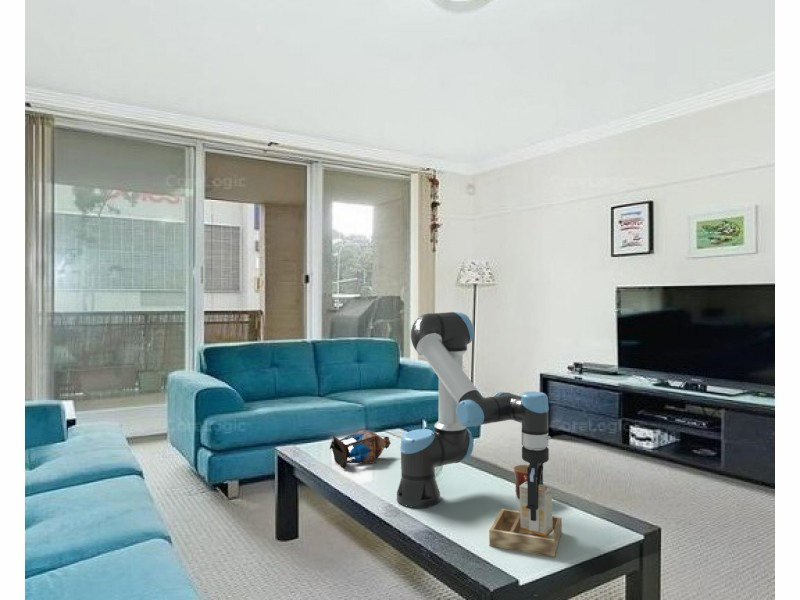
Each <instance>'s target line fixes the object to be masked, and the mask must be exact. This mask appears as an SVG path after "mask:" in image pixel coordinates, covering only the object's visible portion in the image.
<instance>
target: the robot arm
mask: <svg viewBox="0 0 800 600" xmlns="http://www.w3.org/2000/svg"><path fill="white" fill-rule="evenodd" d="M474 335H475V330H474V325H473V322H472V320H471V319H470V317H469V316H468V315H467V314H465V313H463V312H458V311H457V312H456V311H449V312H436V313H435V312H434V313H432V312H431V313H425V314H422V315H420V316H419V317H418V318H417V319H416V320H414V322H413V324H412V326H411V329H410V340H411V344H412V347H413V348H414V349H415V350H414V351H416V352H417V354H418V355H419V356H421V357H423V358H424V359H425V361H426V362H427V363H428V364H429V366H430V367H431V369H432V370H433V372H434V373H435V375H436V376H437V378H438V421H436V422H435V423H434V429H433V430H431V429H428V428H421V429H419V428H417V429H412V430H410V431H408V432H405V433H404V434H403V435H402V437H401V439H400V447H399V449H400V467H401V468H400V469H401V470H400V471H401V473H400V474H401V478H400V482H399V484H398V488H397V491H396V501H397V503H398V502H399V503H398V504H400V503H401V504H403V505H402V506H404V505H407V506H412V507H411V508H413V507H424V508H429V506H430V507H432V506H435V505H438V503H440V502H441V492H440V488H439V485H438V483H437V480H436V477H435V475H436V474H435V471H436V467H437V468H438V467H441V466H446V465H450V464H451V465H452V464H458V463H460V462H463V461H467V460H468V458H470V457H471V455H472V454H473V450H474V437H473V436H472V432H471V431H470V430H469V429H468V427H479V426H481V425H487V424H492V423H500V422H506V421H515V422H518V423H520V424H521V445H522V446H521V458H522V460H523V461H524V462H526V463H529V464H528V465H529V467H528V468H527V473H528V474H527V482H528V505H527V506H526V508H528V509H529V530H530V531H536V532H539V508H538V490H539V484H541V485H544V472H543V471H544V464H545V463H547V462H549V459H550V458H549V457H550V454H549V452H550V451H549V450H550V448H548V446H549V441H550V440H551V439H552V437H551V436H550V435H549V410H550V407H549V399H548V398H549V397H548V395H547V394H546V393H545V392H541V391H524V392H523V393H522V394H521V395H517V394H514V393H512V392H507V391H506V392H504V391H500V392H498V393H496V394H495V395H494V396H487V397H484V396H483V395H482V394H481V392H480V391H479V390H478V389H477V388H476V386H475V385H474V383H473V382H472V381H471V380H470V378H469V376H468V375H467V374H466V372H464V369H463V368H464V365H463V360H464V358H463V355H465V353H466V352H467V351H468V345H469V344H471V343H472V341H473V339H474ZM401 504H400V505H401ZM407 506H406V507H407Z"/></svg>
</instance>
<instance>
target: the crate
mask: <svg viewBox="0 0 800 600" xmlns="http://www.w3.org/2000/svg"><path fill="white" fill-rule="evenodd" d="M552 521H553V531H552V532H551V533H550V534H549V535H548V536H547V537H545V536H542V535H538V534H535V533H531V532H528V531H524V530H521V526H520V510H513V509H507V508H500V511H499V512H498V514H497V516H496V517H495V519H494V521H493V523H492V524H491V526H490V528H489V531H488V534H489V535H488V536H489V541H488V542H489V543H488V544H489V547H495V548H501V549H506V550H510V551H517V552H523V553H527V554H535V555H539V556H546V557H550V558H551V557H552V558H555V557H556V554H557V550H558V548H559V547H558V546H559V543H560V541H561V536H562V531H563V529H562V526H563V525H562V517H560V516H554V515H552Z"/></svg>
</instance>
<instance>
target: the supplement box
mask: <svg viewBox="0 0 800 600" xmlns="http://www.w3.org/2000/svg"><path fill="white" fill-rule="evenodd" d="M519 487H520V499H519V511H520V526H521V530H524V531H528V532H531V533H535V534H538V535H542V536H545V537H547V536H548V535H549V534H550V533H551V532H552V531H553V521H552V516H553V489H552V486H549V485H544V484H543V485H541V484H539V490H538V508H539V532H536V531H530V530H529V509H528V508H526V506H527V505H528V482H527V481H526V482H524V483H523V484H522V485H520V486H519Z"/></svg>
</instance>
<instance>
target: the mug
mask: <svg viewBox="0 0 800 600" xmlns="http://www.w3.org/2000/svg"><path fill="white" fill-rule="evenodd" d="M528 467H529V464H520V465H519V464H518V465H515V466H514V467H513V472H514V476H515V497H516V498H517V499H518V500H520V487H519V486H520V485H522V484H523V483H524V482H526V481H527V474H528V473H527V468H528Z"/></svg>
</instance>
